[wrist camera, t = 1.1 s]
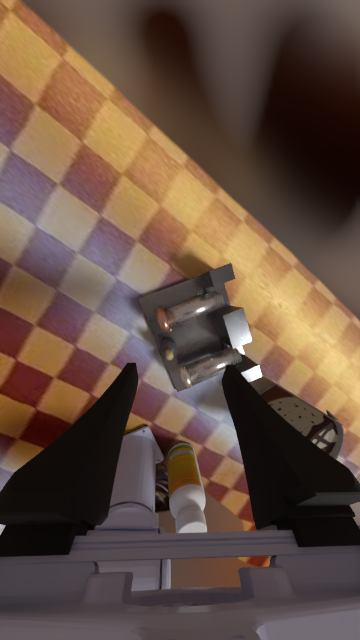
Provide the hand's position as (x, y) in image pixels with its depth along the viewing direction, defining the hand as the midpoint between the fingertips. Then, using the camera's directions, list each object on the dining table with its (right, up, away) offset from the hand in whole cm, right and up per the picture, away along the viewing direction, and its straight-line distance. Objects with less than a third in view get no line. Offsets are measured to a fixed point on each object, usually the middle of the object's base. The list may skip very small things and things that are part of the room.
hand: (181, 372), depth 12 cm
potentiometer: (-2, 0, +12) cm, 12 cm away
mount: (+2, +2, +13) cm, 13 cm away
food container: (+16, -13, +17) cm, 27 cm away
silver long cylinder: (+4, -2, +12) cm, 13 cm away
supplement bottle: (0, -21, +16) cm, 27 cm away
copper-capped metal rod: (+1, +6, +10) cm, 12 cm away
